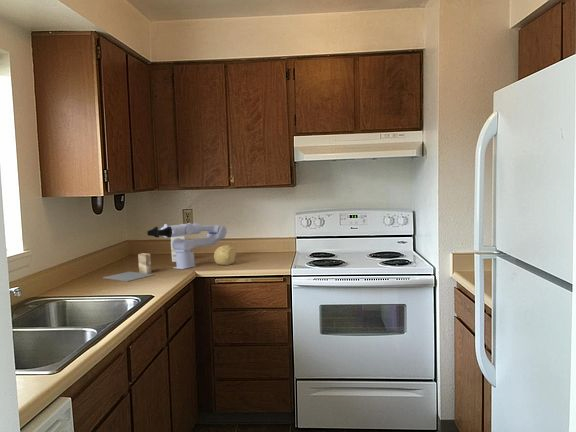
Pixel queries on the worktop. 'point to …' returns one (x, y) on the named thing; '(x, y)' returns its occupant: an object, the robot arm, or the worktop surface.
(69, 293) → the worktop surface
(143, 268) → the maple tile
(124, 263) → the worktop surface
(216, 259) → the beige lumpy ball
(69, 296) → the worktop surface
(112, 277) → the mat
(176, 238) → the ink cartridge box
